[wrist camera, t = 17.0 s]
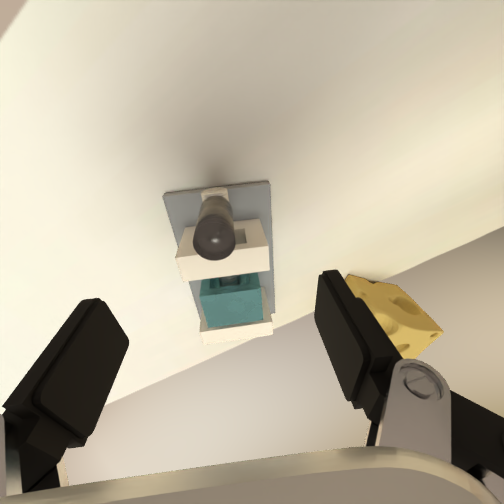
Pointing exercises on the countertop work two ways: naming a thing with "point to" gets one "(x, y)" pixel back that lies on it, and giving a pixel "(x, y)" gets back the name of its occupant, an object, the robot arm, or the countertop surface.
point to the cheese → (397, 315)
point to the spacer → (231, 301)
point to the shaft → (216, 230)
